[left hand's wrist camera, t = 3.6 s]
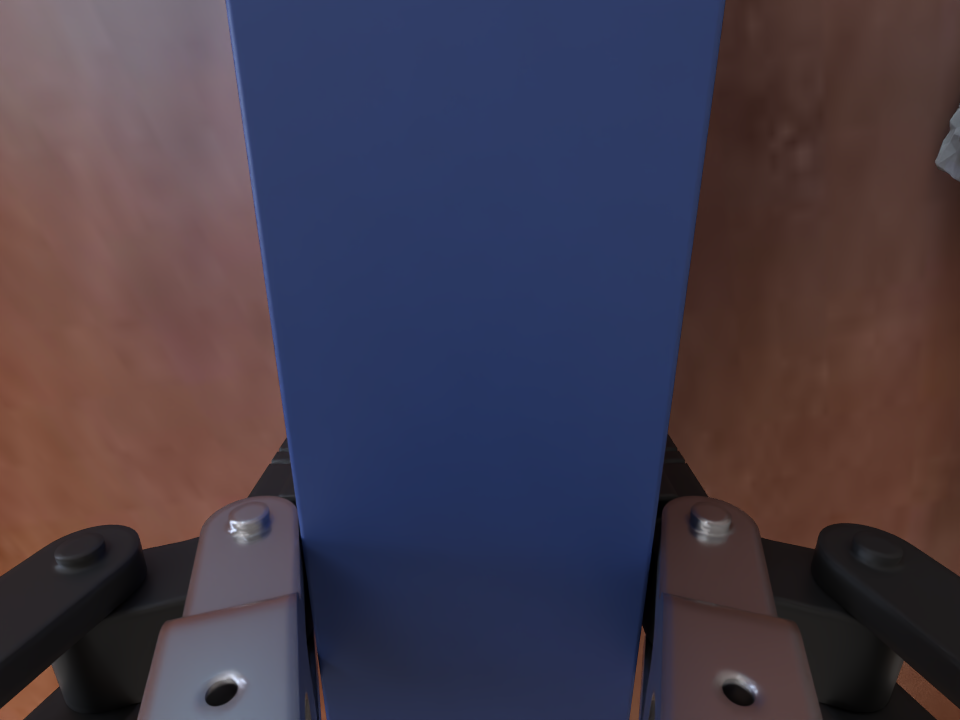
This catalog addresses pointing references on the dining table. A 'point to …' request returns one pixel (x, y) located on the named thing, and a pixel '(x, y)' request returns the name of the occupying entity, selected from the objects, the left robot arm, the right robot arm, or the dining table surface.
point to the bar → (476, 330)
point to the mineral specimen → (951, 149)
